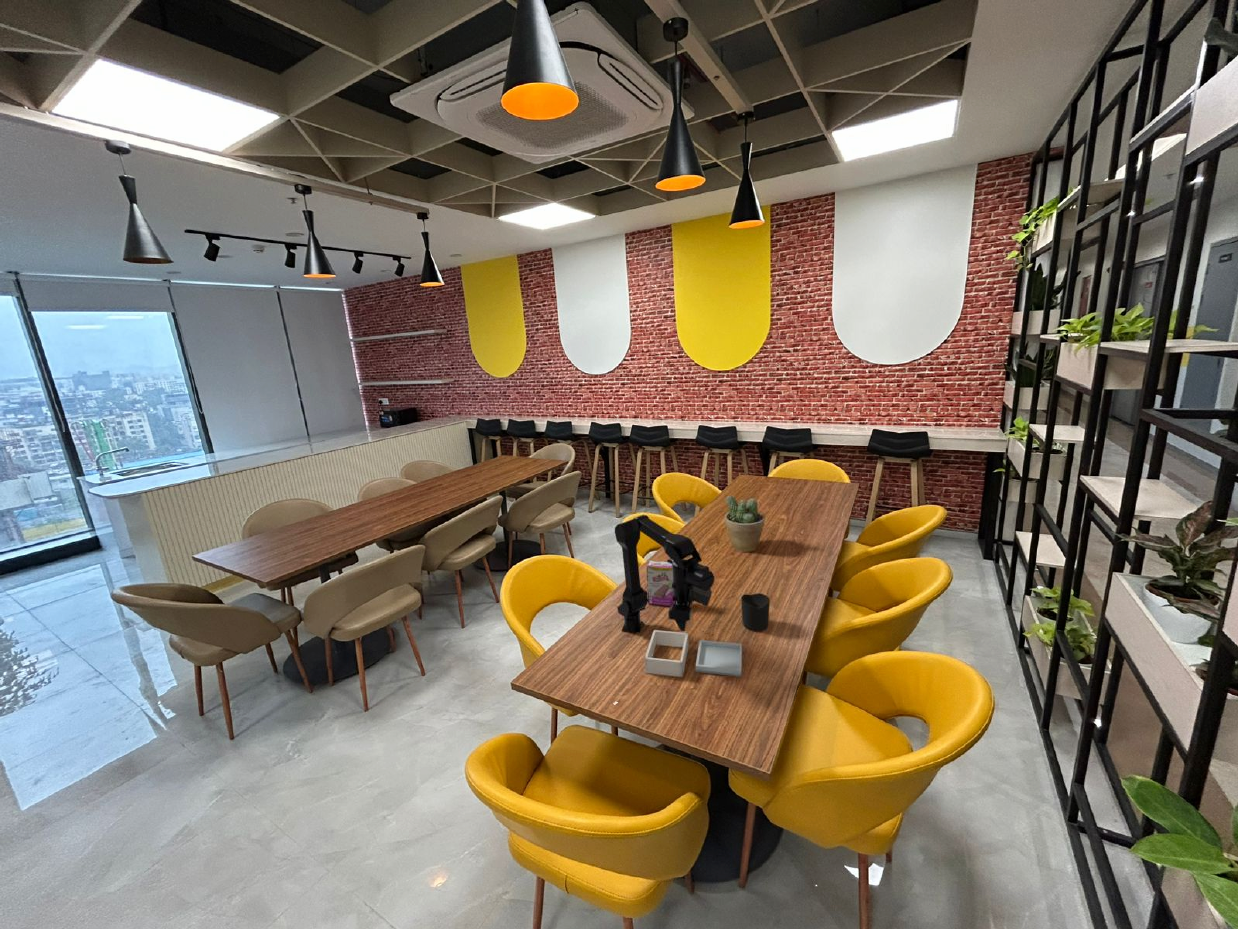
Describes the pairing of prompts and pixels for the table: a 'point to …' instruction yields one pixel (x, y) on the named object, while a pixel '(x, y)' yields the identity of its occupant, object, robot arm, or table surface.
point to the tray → (719, 658)
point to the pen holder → (755, 611)
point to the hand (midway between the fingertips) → (684, 625)
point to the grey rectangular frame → (663, 664)
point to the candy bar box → (660, 583)
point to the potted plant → (744, 524)
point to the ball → (687, 624)
